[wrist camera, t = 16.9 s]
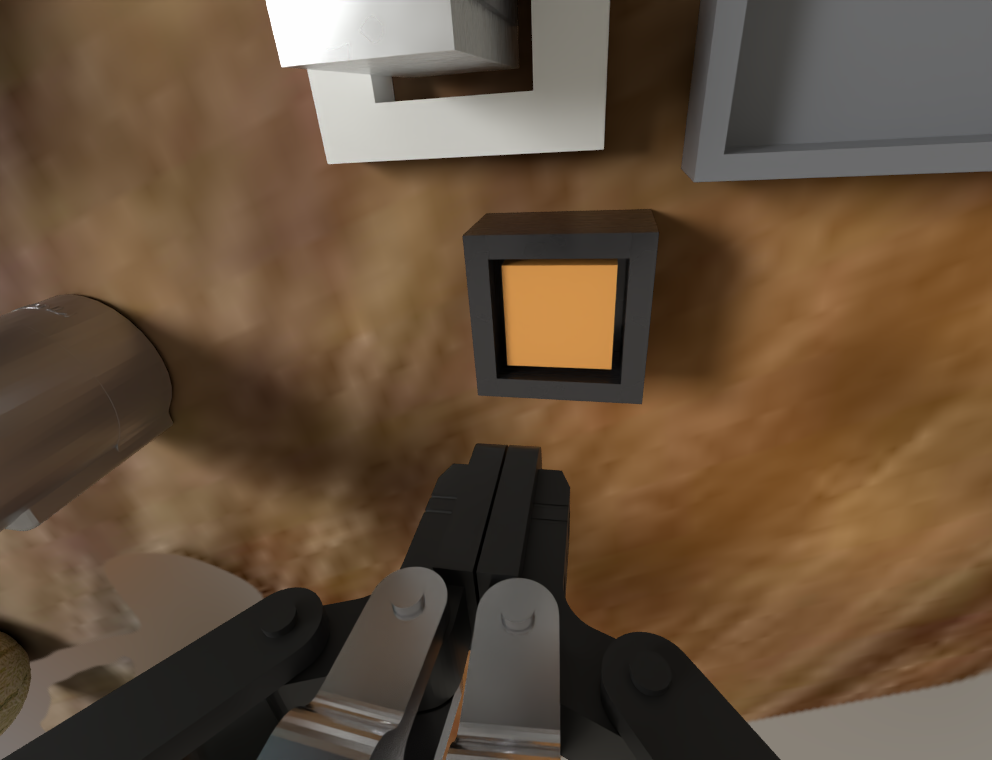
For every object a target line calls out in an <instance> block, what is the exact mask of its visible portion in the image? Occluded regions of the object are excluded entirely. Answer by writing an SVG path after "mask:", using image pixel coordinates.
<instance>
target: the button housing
mask: <svg viewBox="0 0 992 760" xmlns="http://www.w3.org/2000/svg"><path fill="white" fill-rule="evenodd" d="M658 238H659V231H658V228H657V225H656V222H655V219H654V216H653V213H652V210H651V209H637V210H600V211H562V212H525V213H488V214H485V215H484V216H483V217H482V218H481V219H480V220H479V221H478V222H477V223H476V224H474V225H473V226H472V227H471V228H470V229H469V230H468V231H467V232H466V233H465V234H464V235H463V245H464V255H465V265H466V276H467V286H468V296H469V306H470V317H471V327H472V337H473V347H474V358H475V368H476V378H477V388H478V395H481V396H500V397H519V398H537V399H556V400H575V401H594V402H612V403H631V404H642V398H643V388H644V378H645V368H646V358H647V348H648V338H649V328H650V318H651V308H652V298H653V288H654V278H655V268H656V258H657V248H658ZM505 259H617V261H618V268H617V284H616V301H615V317H614V334H613V350H612V367H611V369H589V368H564V367H539V366H514V365H507V350H506V333H505V316H504V300H503V283H502V264H503V263H504V261H505Z"/></svg>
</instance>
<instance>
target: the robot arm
mask: <svg viewBox="0 0 992 760" xmlns="http://www.w3.org/2000/svg"><path fill="white" fill-rule="evenodd" d="M171 399H172V386H171V381H170V377H169V373H168V371H167V369H166V367H165V365H164V362H163V360H162V358H161V357H160V355H159V354H158V352H157V351H156V349H155V348H154V346H153V345H152V344H151V342H150V341H149V340H148V339H147V338H146V336H145V335H144V334H143V333H142V332H141V331H140V330H139V329H138V328H137V327H136V326H135V325H133V324H132V323H131V322H130V321H129V320H128V319H127V318H125V317H124V316H122V315H121V314H119V313H118V312H117V311H115V310H114V309H112V308H110V307H108V306H106V305H104V304H103V303H101V302H99V301H96V300H93V299H90V298H87V297H84V296H79V295H71V294H67V295H59V296H55V297H52V298H49V299H46V300H44V301H41V302H38V303H35V304H32V305H27V306H24V307H21V308H19V309H16V310H14V311H12V312H10V313H7V314H5V315H2V316H0V532H1V531H2V530H3V529H10V530H17V531H28V530H31V529H33V528H35V527H37V526H39V525H40V524H41V523H43V522H44V521H45V520H47V519H48V518H49V517H51V516H52V515H53V514H55V513H56V512H57V511H59V510H60V509H61V508H63V507H64V506H65V505H67V504H68V503H69V502H71V501H72V500H73V499H75V498H76V497H77V496H79V495H80V494H81V493H83V492H84V491H85V490H87V489H88V488H89V487H91V486H92V485H93V484H95V483H96V482H97V481H99V480H100V479H101V478H103V477H104V476H105V475H107V474H108V473H109V472H111V471H112V470H113V469H115V468H116V467H117V466H119V465H120V464H121V463H123V462H124V461H125V460H127V459H128V458H129V457H131V456H132V455H133V454H135V453H136V452H137V451H139V450H140V449H141V448H143V447H144V446H145V445H147V444H148V443H149V442H151V441H152V440H153V439H155V438H156V437H157V436H159V435H160V434H161V433H163V432H164V431H165V430H167V429H168V428H169V427H171V426H172V425H173V422H172V420H171V417H170V415H169V406H170V403H171ZM569 529H570V486H569V484H568V482H567V480H566V478H565V476H564V474H563V472H562V471H559V470H544V469H542V456H541V447H533V446H516V445H509V447H508V445H496V444H479V443H478V444H476V446H475V448H474V451H473V453H472V456H471V459H470V462H469V465H467V464H453V465H451V466H450V467H449V468H448V469H447V470H446V471H445V472H444V473H443V474H442V475H441V476H440V477H439V478H438V481H437V483H436V485H435V488H434V490H433V493H432V497H431V498H430V500H429V502H428V504H427V507H426V512H425V513H424V514H423V516H422V519H421V521H420V524H419V526H418V528H417V531H416V533H415V535H414V538H413V540H412V543H411V545H410V547H409V550H408V552H407V554H406V557H405V559H404V562H403V564H402V566H401V568H400V570H397V571H395V572H393V573H391V574H390V575H388V576H387V577H385V578H384V579H383V580H382V581H381V582H380V583H379V584H378V585H377V586H376V588H375V589H374V591H373V592H372V594H371V595H369V596H366V597H364V598H360V599H356V600H351V601H345V602H340V603H335V604H329V605H324V606H323V605H322V602H321V600H320V598H319V597H318V596H317V594H316V593H314V592H313V591H311V590H309V589H306V588H288V589H284V590H280V591H278V592H276V593H273V594H271V595H270V596H268V597H266V598H264V599H263V600H261V601H259V602H258V603H256V604H255V605H253V606H252V607H250V608H248V609H246V610H245V611H243V612H241V613H240V614H238V615H237V616H235V617H233V618H232V619H230V620H229V621H227V622H225V623H224V624H222V625H220V626H219V627H217V628H216V629H214V630H212V631H211V632H209V633H207V634H206V635H204V636H202V637H201V638H199V639H197V640H196V641H194V642H193V643H191V644H189V645H188V646H186V647H184V648H183V649H181V650H180V651H178V652H176V653H175V654H173V655H171V656H170V657H168V658H166V659H165V660H163V661H162V662H160V663H158V664H157V665H155V666H153V667H152V668H150V669H149V670H147V671H145V672H144V673H142V674H140V675H139V676H137V677H135V678H134V679H132V680H131V681H129V682H127V683H126V684H124V685H122V686H121V687H119V688H118V689H116V690H114V691H113V692H111V693H109V694H108V695H106V696H105V697H103V698H101V699H100V700H98V701H96V702H95V703H93V704H91V705H90V706H88V707H87V708H85V709H83V710H82V711H80V712H78V713H77V714H75V715H74V716H72V717H70V718H69V719H67V720H65V721H64V722H62V723H60V724H59V725H57V726H56V727H54V728H52V729H51V730H49V731H47V732H46V733H44V734H43V735H41V736H39V737H38V738H36V739H34V740H33V741H31V742H29V743H28V744H26V745H25V746H23V747H22V748H20V749H18V750H17V751H15V752H13V753H12V754H10V755H8V756H7V757H5V758H3V759H2V760H442V758H443V754H444V751H445V748H446V744H447V741H448V738H449V734H450V731H451V728H452V725H453V721H454V718H455V715H456V711H457V708H458V705H459V701H460V698H461V694H462V690H463V678H462V677H463V673H464V668H465V664H466V660H467V655H468V651H469V650H471V653H470V659H469V666H468V672H467V679H466V685H465V692H464V698H463V705H462V711H461V718H460V724H459V730H458V734H457V737H456V740H455V741H454V742H452V744H451V745H450V748H449V751H448V754H447V758H446V760H560V755H561V756H563V757H565V758H566V759H568V760H780V759H779V758H778V756H776V754H775V753H774V752H773V751H772V750H771V749H770V748H769V746H768V745H767V744H766V743H765V742H764V741H763V740H762V739H761V738H760V737H759V735H758V734H757V733H756V732H755V731H754V730H753V729H752V728H751V727H750V725H749V724H748V723H747V722H746V721H745V720H744V719H743V718H742V717H741V715H740V714H739V713H738V712H737V711H736V710H735V709H734V708H733V707H732V705H731V704H730V703H729V702H728V701H727V700H726V699H725V698H724V697H723V695H722V694H721V693H720V692H719V691H718V690H717V689H716V688H715V687H714V685H713V684H712V683H711V682H710V681H709V680H708V679H707V678H706V677H705V676H704V674H703V673H702V672H701V671H700V670H699V669H698V668H697V667H696V666H695V664H694V663H693V662H692V661H691V660H690V659H689V658H688V657H687V656H686V654H685V653H684V652H683V651H682V650H681V649H680V648H678V647H677V646H676V645H675V644H673V643H672V642H671V641H669V640H667V639H665V638H663V637H661V636H658V635H656V634H652V633H647V632H632V633H628V634H625V635H623V636H620V637H618V638H617V639H615V638H613V637H611V636H609V635H606V634H604V633H602V632H600V631H598V630H596V629H594V628H592V627H590V626H588V625H587V624H585V623H584V622H583V621H581V620H580V619H579V618H578V617H577V616H576V615H575V614H574V612H573V611H572V610H571V609H570V607H569V605H568V603H567V601H566V598H565V596H566V580H567V565H568V550H569Z"/></svg>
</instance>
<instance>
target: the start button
mask: <svg viewBox="0 0 992 760" xmlns="http://www.w3.org/2000/svg"><path fill="white" fill-rule="evenodd" d="M617 268H618V261H617V259H505V261H504V263H503V264H502V283H503V300H504V316H505V333H506V350H507V365H514V366H539V367H564V368H589V369H611V367H612V350H613V334H614V317H615V301H616V284H617Z"/></svg>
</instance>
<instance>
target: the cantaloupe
mask: <svg viewBox="0 0 992 760" xmlns="http://www.w3.org/2000/svg"><path fill="white" fill-rule="evenodd" d="M30 671H31V669H30V663H29V658H28V655H27V653H26V651H25V650H24V649H23V648H22V646H21V645H19V644H18V643H17V642H16V641H15V640H14V639H13V638H12V637H10V636H9V635H7V634H5V633H3V632H0V736H1V735H2V734H3V733H4V732H5V731H6V729H7V728H8V727H9V726H10V725H11V724H12V722H13V721H14V719H16V716H17V715H18V714H19V712H20V711H21V709H22V706H23V704H24V702H25V700H26V698H27V694H28V691H29V686H30V680H31V673H30Z"/></svg>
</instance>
